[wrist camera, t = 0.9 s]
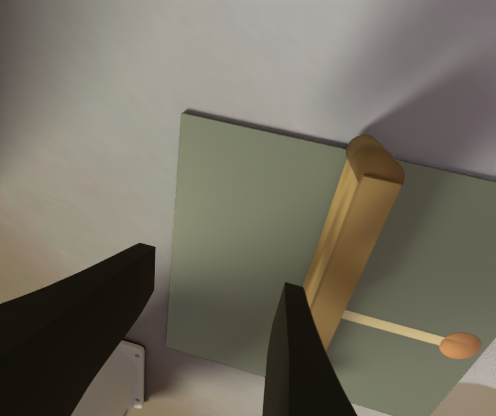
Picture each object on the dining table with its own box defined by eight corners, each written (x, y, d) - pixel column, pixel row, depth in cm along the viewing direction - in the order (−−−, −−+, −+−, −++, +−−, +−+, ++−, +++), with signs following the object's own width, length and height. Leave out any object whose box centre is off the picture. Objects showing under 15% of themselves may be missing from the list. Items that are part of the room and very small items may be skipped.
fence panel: (321, 297, 19) (324, 358, 15) (297, 291, 19) (294, 350, 15) (384, 138, 14) (414, 165, 10) (351, 131, 14) (368, 155, 10)
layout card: (420, 420, 23) (422, 425, 23) (167, 343, 25) (165, 347, 25) (599, 204, 14) (606, 207, 14) (183, 112, 16) (180, 113, 16)
